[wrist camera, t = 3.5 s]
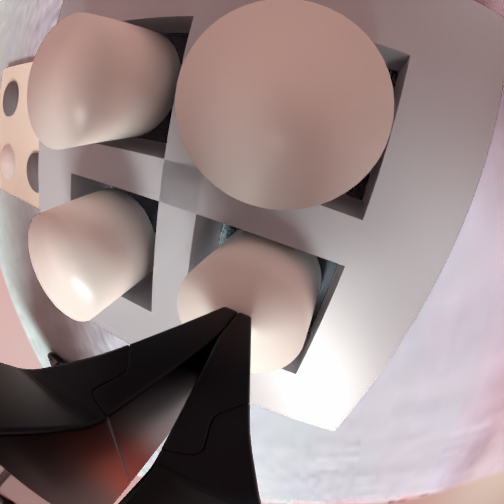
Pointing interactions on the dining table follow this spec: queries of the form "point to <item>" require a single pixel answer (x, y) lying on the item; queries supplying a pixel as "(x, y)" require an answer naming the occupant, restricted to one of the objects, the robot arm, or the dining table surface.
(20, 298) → the dining table surface
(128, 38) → the button
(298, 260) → the button
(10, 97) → the card
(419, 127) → the board
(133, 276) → the button
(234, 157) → the button
